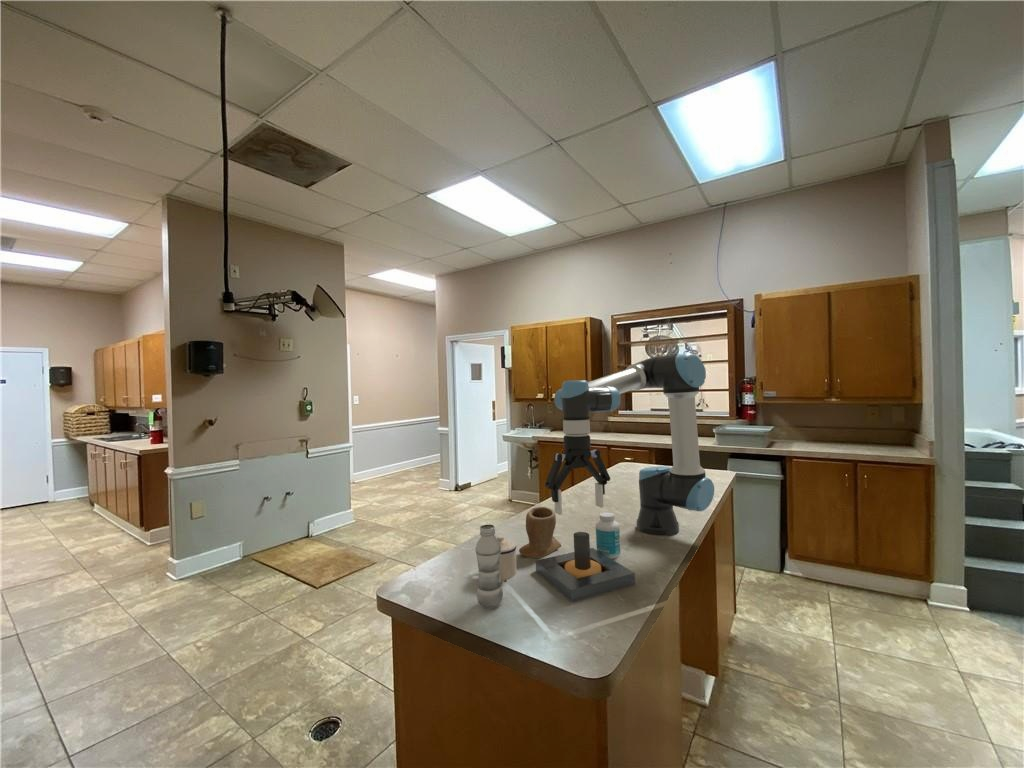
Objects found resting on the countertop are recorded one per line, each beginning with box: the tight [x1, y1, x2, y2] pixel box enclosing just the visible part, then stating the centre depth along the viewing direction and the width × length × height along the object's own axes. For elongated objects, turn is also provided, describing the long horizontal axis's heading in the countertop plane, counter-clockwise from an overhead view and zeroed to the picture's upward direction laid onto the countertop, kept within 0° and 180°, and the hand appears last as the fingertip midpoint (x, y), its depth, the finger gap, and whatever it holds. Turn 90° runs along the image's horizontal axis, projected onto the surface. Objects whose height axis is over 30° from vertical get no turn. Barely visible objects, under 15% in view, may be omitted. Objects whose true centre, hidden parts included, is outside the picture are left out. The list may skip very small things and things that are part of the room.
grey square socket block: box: [535, 547, 636, 603], centre depth 116 cm, size 20×20×4 cm
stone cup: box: [518, 506, 562, 559], centre depth 137 cm, size 15×12×15 cm
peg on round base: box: [565, 531, 601, 579], centre depth 116 cm, size 10×10×12 cm
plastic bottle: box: [475, 523, 504, 609], centre depth 105 cm, size 6×7×20 cm
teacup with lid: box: [496, 535, 518, 583], centre depth 122 cm, size 12×9×12 cm
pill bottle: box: [595, 512, 621, 560], centre depth 131 cm, size 8×7×14 cm
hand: (579, 509), depth 116 cm, fingers open, 13 cm apart
